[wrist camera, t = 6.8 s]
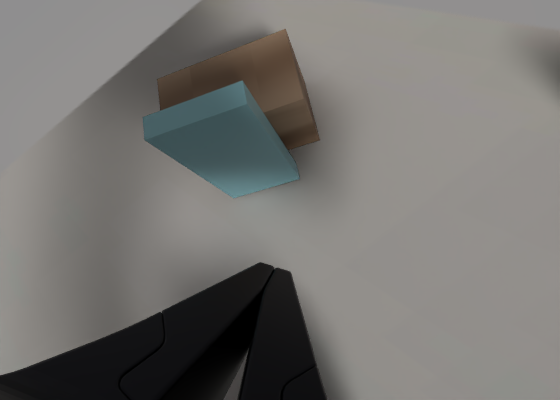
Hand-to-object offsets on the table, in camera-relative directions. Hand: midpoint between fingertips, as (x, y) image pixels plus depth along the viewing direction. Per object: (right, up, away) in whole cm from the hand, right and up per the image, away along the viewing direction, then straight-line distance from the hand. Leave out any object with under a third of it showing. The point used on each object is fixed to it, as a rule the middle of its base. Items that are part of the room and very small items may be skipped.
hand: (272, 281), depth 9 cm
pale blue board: (-1, +6, +16) cm, 17 cm away
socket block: (-2, +8, +17) cm, 19 cm away
